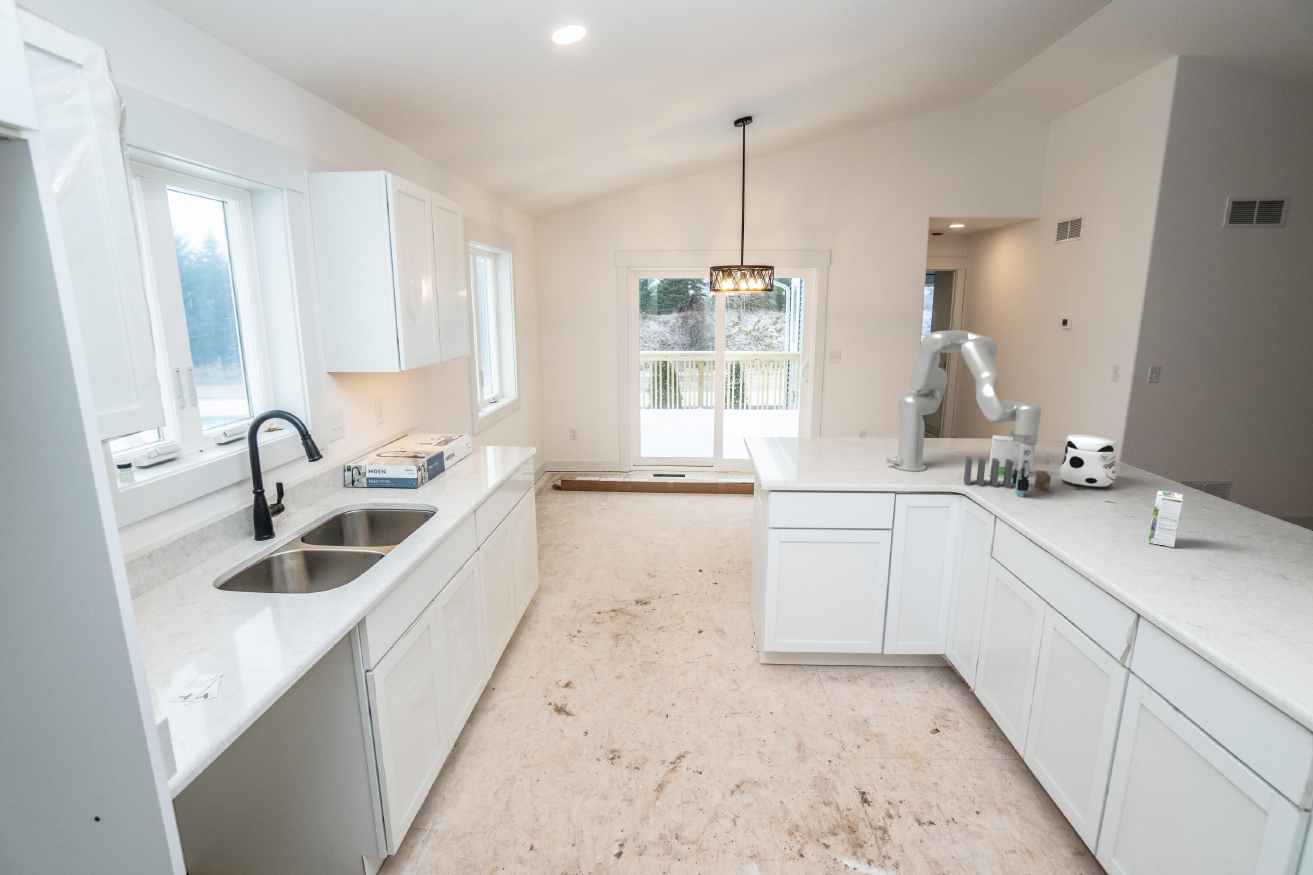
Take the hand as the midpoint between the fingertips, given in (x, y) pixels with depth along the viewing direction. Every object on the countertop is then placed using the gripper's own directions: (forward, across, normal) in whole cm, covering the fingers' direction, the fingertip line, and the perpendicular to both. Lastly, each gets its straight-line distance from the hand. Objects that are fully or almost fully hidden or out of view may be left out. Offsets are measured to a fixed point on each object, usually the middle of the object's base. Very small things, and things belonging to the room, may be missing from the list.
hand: (1019, 486), depth 218 cm
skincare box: (+3, +28, +2) cm, 28 cm away
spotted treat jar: (+3, +22, -26) cm, 34 cm away
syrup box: (+3, -40, -28) cm, 49 cm away
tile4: (+3, +11, +2) cm, 11 cm away
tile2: (+3, +11, +11) cm, 16 cm away
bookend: (+3, +11, -9) cm, 14 cm away
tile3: (+3, +11, +7) cm, 13 cm away
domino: (+3, 0, 0) cm, 3 cm away
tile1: (+3, +11, +16) cm, 19 cm away
